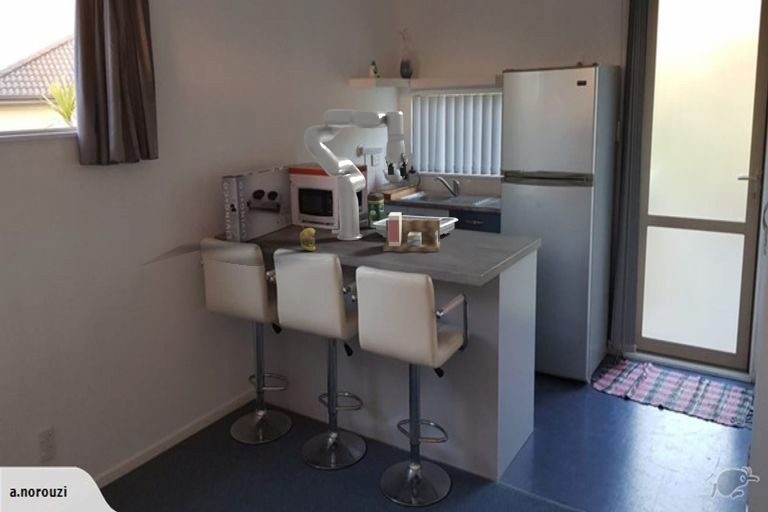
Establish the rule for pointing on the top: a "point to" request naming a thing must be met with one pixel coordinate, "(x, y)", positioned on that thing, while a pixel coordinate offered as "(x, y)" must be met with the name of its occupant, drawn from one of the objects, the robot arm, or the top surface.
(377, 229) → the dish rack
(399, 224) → the boxed book
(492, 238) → the top surface
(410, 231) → the shelf
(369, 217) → the coffee jar
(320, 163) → the robot arm
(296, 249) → the top surface
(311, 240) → the hamburger
